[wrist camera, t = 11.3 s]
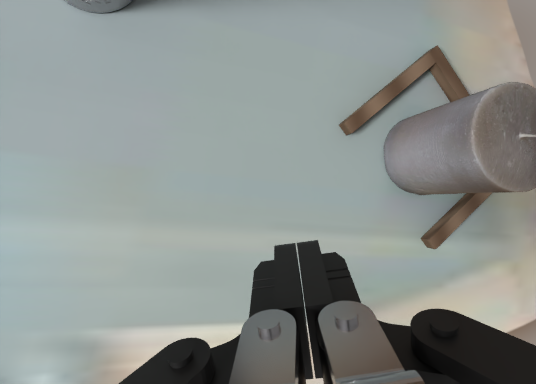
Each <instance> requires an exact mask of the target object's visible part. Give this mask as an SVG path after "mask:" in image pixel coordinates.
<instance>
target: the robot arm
mask: <svg viewBox="0 0 536 384" xmlns="http://www.w3.org/2000/svg"><path fill="white" fill-rule="evenodd" d="M65 1H66V2H67V3H69V4H70V5H72V6H74V7H76V8H78V9H81V10H85V11H88V12H95V13H106V12H112V11H116V10H119V9H121V8H123V7H125V6H126V5H128V4H129V3H130V2H131V1H132V0H65ZM297 247H298V255H299V262H300V270H301V278H302V285H303V293H304V301H305V308H306V315H307V322H308V329H309V336H310V342H311V349H312V356H313V363H314V370H315V377H316V378H323V381H324V384H536V346H535V345H533V344H530V343H528V342H526V341H523V340H521V339H518V338H516V337H514V336H511V335H509V334H507V333H504V332H502V331H500V330H497V329H495V328H492V327H490V326H488V325H485V324H483V323H481V322H478V321H476V320H474V319H471V318H469V317H467V316H464V315H462V314H459V313H457V312H454V311H450V310H445V309H428V310H424V311H421V312H419V313H417V314H416V315H415V316H414V317H413V318H412V320H411V326H403V325H395V324H388V323H385V322H382V321H379V320H377V318H376V317H375V315H374V313H373V312H372V310H371V309H370V308H369V307H367V306H366V305H364V304H361V301H360V299H359V296H358V293H357V291H356V288H355V285H354V283H353V280H352V278H351V275H350V272H349V270H348V267H347V264H346V262H345V259H344V258H342V257H341V256H340V255H338V254H337V253H336V252H333V253H325V254H321V251H320V247H319V243H318V240H315V241H307V242H300V243H297ZM252 289H253V290H252V296H251V305H250V314H249V319H248V320H247V321H246V322H245V323H244V325H243V327H242V331H241V334H240V335H239V336H237V337H236V338H234V339H233V340H231V341H229V342H227V343H224V344H222V345H219V346H216V347H214V348H211V349H210V347H209V345H208V344H207V342H205V341H204V340H202V339H199V338H186V339H181V340H178V341H176V342H173V343H172V344H170V345H168V346H167V347H165V348H164V349H163V350H161V351H160V352H159V353H157V354H156V355H155V356H154V357H152V358H151V359H150V360H148V361H147V362H146V363H145V364H143V365H142V366H141V367H139V368H138V369H137V370H136V371H134V372H133V373H132V374H131V375H129V376H128V377H127V378H125V379H124V380H123V381H122V382H120V383H119V384H306V379H313V372H312V364H311V357H310V349H309V341H308V333H307V325H306V317H305V309H304V301H303V293H302V286H301V279H300V273H299V266H298V259H297V252H296V245H295V243H292V244H284V245H277V246H275V247H274V260H271V261H263V262H261V263H260V264H259V265H258V266H257V268H256V269H255V270H254V277H253V287H252Z"/></svg>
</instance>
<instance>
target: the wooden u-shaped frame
mask: <svg viewBox="0 0 536 384" xmlns="http://www.w3.org/2000/svg"><path fill="white" fill-rule="evenodd" d="M428 69H429V70H430V71H431V73H432V75H433V76H434V78H435V79H436V81H437V82H438V84H439V85H440V87H441V88H442V90H443V91H444V93H445V94H446V96H447V97H448V99H449V100H450V102H453V101H456V100H459V99H461V98H464V97H467V96H470V95H469V94H468V92H467V90H466V89H465V87H464V86H463V84H462V83H461V81H460V80H459V78H458V76H457V75H456V73H455V72H454V70H453V69H452V67H451V66H450V64H449V63H448V61H447V59H446V58H445V56H444V55H443V53H442V52H441V50H440V49H439V47H438V45H437V46H436V47H434V48H432V49H430V50H429V51H428V52H426V53H425V54H424V55H423V56H422V57H420V58H419V59H418V60H417V61H415V62H414V63H413V64H412V65H411V66H409V67H408V68H407V69H406V70H405V71H403V72H402V73H401V74H400V75H399V76H397V77H396V78H395V79H394V80H393V81H391V82H390V83H389V84H388V85H386V86H385V87H384V88H383V89H382V90H380V91H379V92H378V93H377V94H376V95H374V96H373V97H372V98H371V99H370V100H368V101H367V102H366V103H365V104H364V105H362V106H361V107H360V108H359V109H357V110H356V111H355V112H354V113H353V114H351V115H350V116H349V117H348V118H347V119H345V120H344V121H343V122H342V123H341V124H339V126H340V127H341V129H342V130H343V131H344V133H345V134H346V135H348V134H351V133H353V132H354V131H355V130H356V129H358V128H359V127H360V126H361V125H362V124H364V123H365V122H366V121H367V120H368V119H370V118H371V117H372V116H373V115H374V114H375V113H377V112H378V111H379V110H380V109H381V108H383V107H384V106H385V105H386V104H387V103H389V102H390V101H391V100H392V99H393V98H394V97H396V96H397V95H398V94H399V93H400V92H402V91H403V90H404V89H405V88H406V87H408V86H409V85H410V84H411V83H412V82H413V81H415V80H416V79H417V78H418V77H419V76H421V75H422V74H423V73H424V72H425V71H426V70H428ZM490 194H491V193H466V194H465V195H464V196H463V197H462V198H461V199H460V200H459V201H458V202H457V203H456V204H455V205H454V206H453V207H452V208H451V209H450V210H449V211H448V212H447V213H446V214H445V215H444V216H443V217H442V218H441V219H440V220H439V221H438V222H437V223H436V224H435V225H434V226H433V227H432V228H431V229H430V230H429V231H428V232H427V233H426V234H425V235H424V236H423V237H422V238H421V240H422V241H423V242H424V244H425V245H426V246H427V248H432V249H437V248H438V247H439V246H440V245H441V244H442V243H443V242H444V241H445V240H446V239H447V238H448V237H449V236H450V234H451V233H452V232H453V231H454V230H455V229H456V228H457V227H458V226H459V225H460V224H461V223H462V222H463V221H464V220H465V219H466V218H467V217H468V216H469V215H470V214H471V213H472V212H473V211H474V210H475V209H476V208H477V207H478V206H479V205H480V204H481V203H482V202H483V201H484V200H485V199H486V198H487V197H488V196H489V195H490Z"/></svg>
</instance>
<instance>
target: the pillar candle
mask: <svg viewBox="0 0 536 384" xmlns="http://www.w3.org/2000/svg"><path fill="white" fill-rule="evenodd" d="M384 159H385V166H386V170H387V173H388V175H389V176H390V178H391V180H392V181H393V182H394V183H395V184H396V185H397V186H398V187H399V188H401V189H403V190H404V191H407V192H410V193H415V194H419V195H429V194H458V193H492V192H493V193H494V192H524V191H530V190H532V189H534V188H536V89H535V88H534V87H532V86H530V85H528V84H523V83H518V82H509V83H504V84H501V85H498V86H495V87H492V88H489V89H486V90H484V91H481V92H478V93H475V94H472V95H470V96H467V97H464V98H461V99H459V100H456V101H453V102H451V103H448V104H445V105H442V106H439V107H437V108H434V109H431V110H428V111H426V112H423V113H420V114H417V115H414V116H412V117H409V118H406V119H404V120H402V121H400V122H399V123H397V124H396V125H395V126H394V127H393V128H392V129H391V130H390V132H389V134H388V136H387V138H386V140H385V143H384Z"/></svg>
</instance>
